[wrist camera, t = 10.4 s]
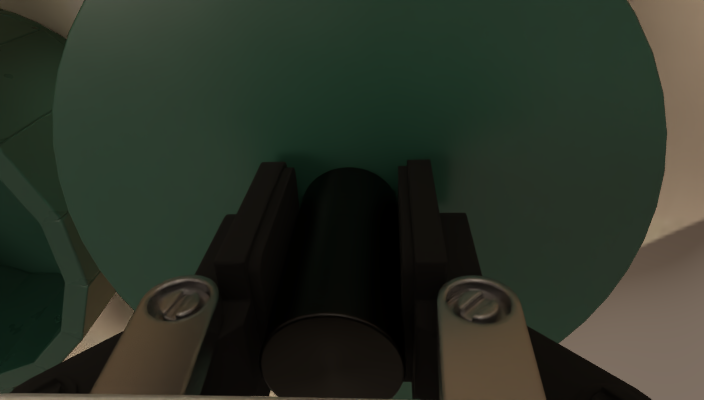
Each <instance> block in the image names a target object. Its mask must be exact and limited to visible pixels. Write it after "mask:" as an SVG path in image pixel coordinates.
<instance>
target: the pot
mask: <svg viewBox="0 0 704 400" xmlns="http://www.w3.org/2000/svg"><path fill="white" fill-rule="evenodd" d="M65 44H66V39H65V38H63V37H62V36H60V35H59V34H57V33H55V32H53V31H51V30H50V29H48V28H46V27H44V26H42V25H41V24H39V23H37V22H34V21H32V20H30V19H27V18H25V17H23V16H20V15H18V14H15V13H13V12H9V11H6V10H3V9H0V394H4V393H10V392H11V391H12V390H14V389H15V388H16V387H17V386H19V385H20V384H22V383H24V382H25V381H27V380H29V379H30V378H32V377H34V376H36V375H38V374H40V373H42V372H44V371H46V370H48V369H50V368H52V367H54V366H56V365H58V364H60V363H62V362H63V361H64V360H65V358H66V357H67V356H68V355H69V354H70V353H71V352H72V351H73V350H74V349H75V347H76V346H77V345H78V344H79V343H80V342H81V341H82V340H83V338H84V337H85V335H86V334H87V332H88V331H89V330H90V328H91V327H92V325H93V324H94V322H95V321H96V320H97V318H98V317H99V315H100V314H101V312H102V311H103V309H104V308H105V307H106V305H107V304H108V302H109V301H110V299H111V298H112V297H113V295H114V294H115V292H116V290H115V289H114V288H113V286H112V285H111V284H110V283H109V281H108V280H107V279H106V277H105V276H104V275H103V274H102V272H101V271H100V270H99V268H98V267H97V265H96V263H95V262H94V260H93V258H92V257H91V255H90V253H89V252H88V250H87V248H86V247H85V245H84V244H83V242H82V240H81V238H80V235H79V233H78V231H77V229H76V227H75V224H74V222H73V220H72V218H71V216H70V213H69V211H68V208H67V204H66V201H65V198H64V195H63V191H62V188H61V185H60V182H59V178H58V172H57V166H56V159H55V153H54V147H53V113H52V107H53V100H54V92H55V85H56V78H57V70H58V67H59V64H60V60H61V57H62V54H63V50H64V47H65Z"/></svg>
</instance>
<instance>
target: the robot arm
mask: <svg viewBox="0 0 704 400" xmlns="http://www.w3.org/2000/svg"><path fill="white" fill-rule="evenodd" d="M299 211H300V208H299V199H298V190H297V181H296V173H295V169H294V167H287V164H286V162H262V163H261V164H260V166H259V168H258V170H257V172H256V174H255V177H254V179H253V181H252V183H251V185H250V187H249V189H248V191H247V193H246V195H245V197H244V199H243V201H242V203H241V206H240V208H239V210H238V212H237V214H228V215H226V216H225V217H224V219H223V221H222V222H221V224H220V226H219V228H218V230H217V232H216V234H215V236H214V238H213V240H212V242H211V244H210V246H209V248H208V250H207V251H206V253H205V255H204V257H203V259H202V261H201V263H200V265H199V267H198V269H197V271H196V273H195V275H184V276H177V277H174V278H171V279H168V280H165V281H163V282H161V283H159V284H157V285H156V286H154V287H153V288H152V289H150V290H149V291H148V292H147V293H146V294H145V295H144V297H143V298H142V299H141V300H140V302H139V304H138V306H137V308H136V310H135V311H134V313H133V315H132V317H131V319H130V320H129V322H128V324H127V326H126V328H125V329H124V331H123V332H121V333H119V334H117V335H115V336H113V337H111V338H109V339H107V340H105V341H103V342H101V343H99V344H97V345H95V346H93V347H91V348H89V349H87V350H85V351H83V352H81V353H79V354H77V355H75V356H73V357H72V358H70V359H68V360H66V361H64V362H62V363H60V364H58V365H56V366H54V367H52V368H50V369H48V370H46V371H44V372H42V373H40V374H38V375H36V376H34V377H32V378H30V379H29V380H27V381H25V382H24V383H22V384H20V385H19V386H17V387H16V388H15V389H14V390H12V391H11V392H10V393H4V394H0V400H401V399H358V398H309V397H257V396H269V394H270V390H271V389H270V388H269V387H268V385H267V384H266V382H265V380H264V378H263V376H262V374H261V370H260V366H259V353H260V349H261V346H262V342H263V338H264V335H265V331H266V328H267V324H268V321H269V317H270V314H271V310H272V306H273V303H274V299H275V296H276V292H277V289H278V285H279V282H280V278H281V275H282V271H283V267H284V264H285V260H286V257H287V253H288V250H289V246H290V243H291V239H292V236H293V232H294V228H295V225H296V221H297V218H298V214H299ZM398 225H399V252H400V278H401V305H402V321H403V325H404V335H405V358H406V373H405V378H404V381H403V382H411V383H412V399H420V400H651V399H650V398H649V397H648V396H646V395H645V394H643V393H642V392H640V391H639V390H638V389H636V388H634V387H633V386H631V385H629V384H627V383H626V382H624V381H622V380H620V379H619V378H617V377H615V376H613V375H611V374H610V373H608V372H607V371H605V370H603V369H601V368H600V367H598V366H596V365H594V364H593V363H591V362H589V361H587V360H585V359H584V358H582V357H581V356H579V355H577V354H575V353H573V352H572V351H570V350H568V349H567V348H565V347H563V346H561V345H560V344H558V343H556V342H555V341H553V340H551V339H549V338H548V337H546V336H544V335H542V334H541V333H539V332H537V331H535V330H534V329H532V328H530V327H529V326H527V325H526V321H525V317H524V314H523V310H522V306H521V302H520V300H519V298H518V296H517V294H516V293H515V292H514V291H513V290H512V289H511V288H510V287H509V286H507V285H505V284H503V283H502V282H500V281H498V280H495V279H492V278H489V277H485V276H482V273H481V269H480V265H479V261H478V257H477V253H476V249H475V245H474V242H473V238H472V234H471V230H470V226H469V222H468V218H467V215H466V213H439V207H438V201H437V196H436V190H435V184H434V178H433V172H432V166H431V161H430V159H425V160H407V166H398Z"/></svg>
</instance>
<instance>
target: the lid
mask: <svg viewBox="0 0 704 400" xmlns="http://www.w3.org/2000/svg"><path fill="white" fill-rule="evenodd" d="M52 113H53V147H54V153H55V159H56V166H57V172H58V178H59V182H60V185H61V188H62V191H63V195H64V198H65V201H66V204H67V208H68V211H69V213H70V216H71V218H72V220H73V222H74V224H75V227H76V229H77V231H78V233H79V235H80V238H81V240H82V242H83V244H84V245H85V247H86V248H87V250H88V252H89V253H90V255H91V257H92V258H93V260H94V262H95V263H96V265H97V267H98V268H99V270H100V271H101V272H102V274H103V275H104V276H105V277H106V279H107V280H108V281H109V283H110V284H111V285H112V286H113V288H114V289H115V290H116V292H117V293H118V294H119V295H120V296H121V297H122V298H123V299H124V300H125V301H126V303H127V304H128V305H129V306H130V307H131V308H132V309H133V310H134V311H135V310H136V308H137V306H138V304H139V302H140V300H141V299H142V298H143V297H144V295H145V294H146V293H147V292H148V291H149V290H150V289H152V288H153V287H154V286H156V285H157V284H159V283H161V282H163V281H165V280H168V279H171V278H174V277H177V276H184V275H195V273H196V271H197V269H198V267H199V265H200V263H201V261H202V259H203V257H204V255H205V253H206V251H207V250H208V248H209V246H210V244H211V242H212V240H213V238H214V236H215V234H216V232H217V230H218V228H219V226H220V224H221V222H222V221H223V219H224V217H225V216H226V215H228V214H237V212H238V210H239V208H240V206H241V203H242V201H243V199H244V197H245V195H246V193H247V191H248V189H249V187H250V185H251V183H252V181H253V179H254V177H255V174H256V172H257V170H258V168H259V166H260V164H261V163H262V162H286V164H287V167H294V169H295V173H296V181H297V190H298V199H299V208H300V211H299V214H298V218H297V221H296V225H295V228H294V232H293V236H292V239H291V243H290V246H289V250H288V253H287V257H286V260H285V264H284V267H283V271H282V275H281V278H280V282H279V285H278V289H277V292H276V296H275V299H274V303H273V306H272V310H271V314H270V317H269V321H268V324H267V328H266V331H265V335H264V338H263V342H262V346H261V349H260V353H259V366H260V370H261V374H262V376H263V378H264V380H265V382H266V384H267V385H268V387H269V388H270V389H271V391H273V392H274V393H275V394H276V395H277V396H278V397H309V398H358V399H401V400H420V399H412V383H411V382H403V381H404V378H405V373H406V358H405V335H404V325H403V321H402V305H401V278H400V252H399V225H398V166H407V160H425V159H430V161H431V166H432V172H433V178H434V184H435V190H436V196H437V201H438V207H439V213H466V215H467V218H468V222H469V226H470V230H471V234H472V238H473V242H474V245H475V249H476V253H477V257H478V261H479V265H480V269H481V273H482V276H485V277H489V278H492V279H495V280H498V281H500V282H502V283H503V284H505V285H507V286H509V287H510V288H511V289H512V290H513V291H514V292H515V293H516V294H517V296H518V298H519V300H520V302H521V306H522V310H523V314H524V317H525V321H526V325H527V326H529V327H530V328H532V329H534V330H535V331H537V332H539V333H541V334H542V335H544V336H546V337H548V338H549V339H551V340H553V341H555V342H556V343H559V342H561V341H562V340H563V339H565V338H566V337H567V336H568V335H569V334H571V333H572V332H573V331H574V330H575V329H576V328H578V327H579V326H580V325H581V324H582V323H584V322H585V321H586V320H587V319H588V318H589V317H590V316H591V314H592V313H593V312H594V311H595V310H596V309H597V308H598V307H599V306H600V305H601V304H602V303H603V302H604V301H605V300H606V299H607V297H608V296H609V295H610V293H611V292H612V291H613V289H614V288H615V287H616V285H617V284H618V283H619V281H620V280H621V278H622V277H623V276H624V274H625V273H626V272H627V270H628V268H629V267H630V265H631V263H632V261H633V259H634V257H635V256H636V254H637V252H638V250H639V248H640V247H641V245H642V243H643V241H644V239H645V236H646V234H647V231H648V228H649V226H650V223H651V220H652V218H653V215H654V212H655V210H656V207H657V203H658V198H659V194H660V189H661V185H662V180H663V176H664V171H665V155H666V140H667V128H666V117H665V107H664V96H663V90H662V86H661V82H660V78H659V75H658V71H657V67H656V63H655V59H654V55H653V52H652V50H651V47H650V45H649V43H648V41H647V38H646V36H645V34H644V32H643V29H642V27H641V25H640V23H639V20H638V18H637V16H636V14H635V12H634V10H633V9H632V7H631V6H630V4H629V3H628V1H627V0H84V2H83V4H82V6H81V8H80V10H79V12H78V14H77V16H76V18H75V20H74V23H73V25H72V27H71V29H70V31H69V34H68V37H67V40H66V44H65V47H64V50H63V54H62V57H61V60H60V64H59V67H58V70H57V78H56V85H55V92H54V100H53V107H52Z"/></svg>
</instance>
